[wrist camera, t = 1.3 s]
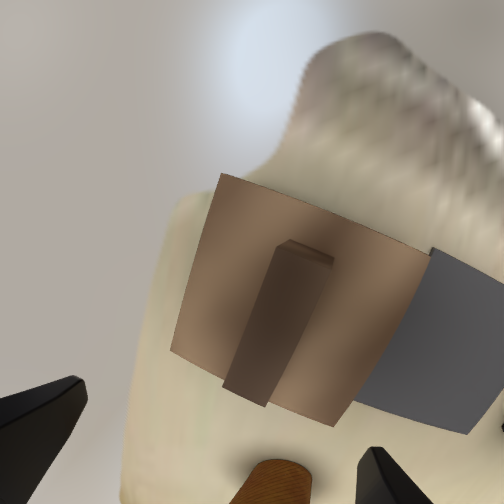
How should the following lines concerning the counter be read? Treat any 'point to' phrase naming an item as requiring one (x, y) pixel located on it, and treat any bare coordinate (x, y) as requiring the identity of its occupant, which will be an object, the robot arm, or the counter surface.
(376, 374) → the mat
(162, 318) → the counter surface
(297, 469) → the disposable coffee cup
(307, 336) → the cover
